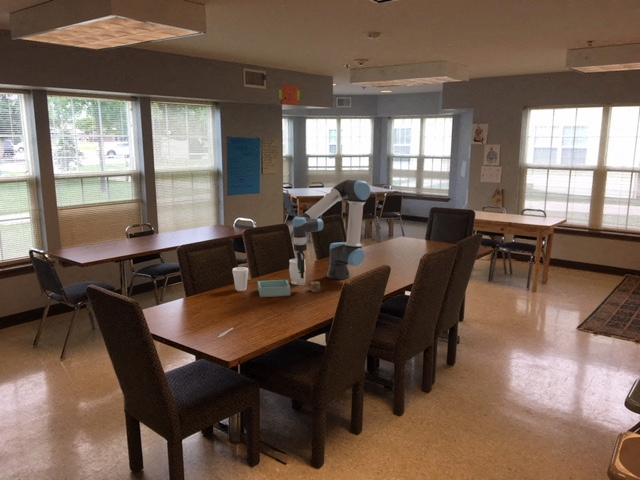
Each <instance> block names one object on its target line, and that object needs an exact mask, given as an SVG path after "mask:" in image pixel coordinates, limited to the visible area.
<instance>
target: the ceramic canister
mask: <svg viewBox="0 0 640 480" xmlns="http://www.w3.org/2000/svg"><path fill="white" fill-rule="evenodd" d="M304 279H305V280H306V272H304ZM305 285H306V282H305V283H300V273H299V272H297V286H305Z"/></svg>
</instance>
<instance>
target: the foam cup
mask: <svg viewBox="0 0 640 480" xmlns="http://www.w3.org/2000/svg"><path fill="white" fill-rule="evenodd" d="M248 274H249V268H248V267H245V266H238V267H233V268H232V275H233V282H234V288H235V291H236V290H237V292H246V290H247V286H248V276H249V275H248Z"/></svg>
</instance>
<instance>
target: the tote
mask: <svg viewBox="0 0 640 480" xmlns="http://www.w3.org/2000/svg"><path fill="white" fill-rule="evenodd" d="M257 290H258V294H259V298H274V297H290V296H291V285H290V282H289V280H288V279H275V280H257Z"/></svg>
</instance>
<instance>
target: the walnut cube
mask: <svg viewBox="0 0 640 480" xmlns="http://www.w3.org/2000/svg"><path fill="white" fill-rule="evenodd" d="M310 291H311V293H321V282H320V281H310Z"/></svg>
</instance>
